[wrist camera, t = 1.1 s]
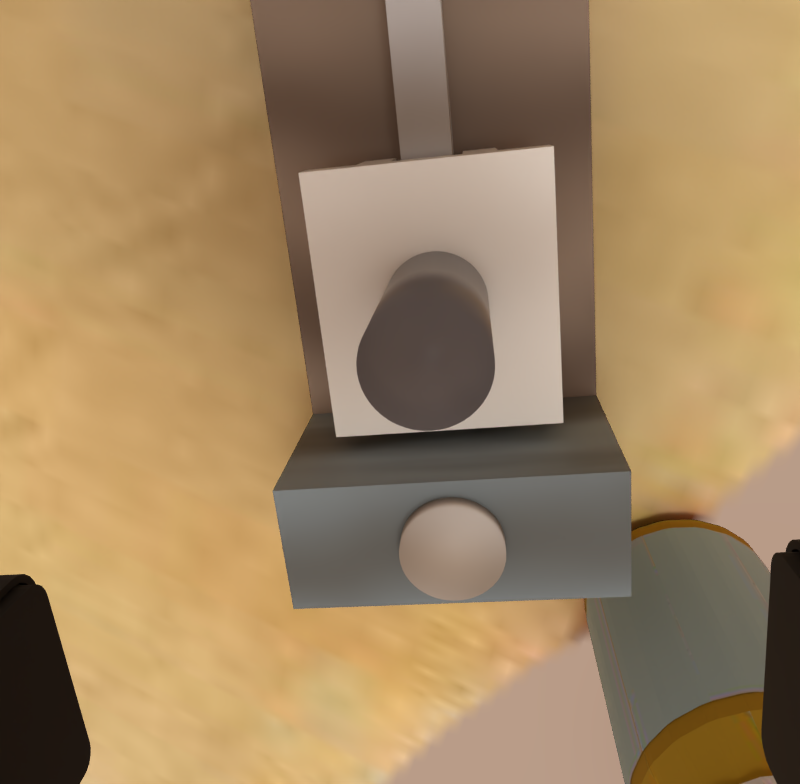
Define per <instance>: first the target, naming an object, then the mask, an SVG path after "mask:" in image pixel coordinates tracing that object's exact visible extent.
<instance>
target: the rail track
mask: <svg viewBox="0 0 800 784" xmlns="http://www.w3.org/2000/svg"><path fill="white" fill-rule="evenodd" d="M250 2H251V9H252V15H253V22H254V29H255V35H256V42H257V48H258V55H259V61H260V68H261V75H262V81H263V88H264V94H265V101H266V107H267V114H268V121H269V127H270V134H271V140H272V147H273V153H274V160H275V167H276V173H277V180H278V186H279V193H280V199H281V206H282V213H283V219H284V226H285V232H286V239H287V245H288V252H289V259H290V265H291V272H292V278H293V285H294V291H295V298H296V305H297V311H298V318H299V324H300V331H301V337H302V344H303V351H304V357H305V364H306V370H307V377H308V383H309V390H310V397H311V403H312V410H313V416H312V417H311V419H310V421H309V423H308V425H307V427H306V429H305V431H304V433H303V435H302V436H301V438H300V440H299V442H298V444H297V446H296V448H295V450H294V452H293V453H292V455H291V457H290V459H289V461H288V463H287V465H286V467H285V469H284V471H283V472H282V474H281V476H280V478H279V480H278V482H277V484H276V486H275V488H274V490H273V495H274V501H275V507H276V512H277V518H278V524H279V529H280V535H281V540H282V546H283V552H284V557H285V563H286V569H287V574H288V580H289V585H290V591H291V597H292V602H293V608H294V609H304V608H331V607H358V606H386V605H413V604H441V603H468V602H495V601H523V600H550V599H577V598H605V597H631V470H630V468H629V466H628V464H627V461H626V459H625V457H624V455H623V453H622V450H621V448H620V446H619V444H618V442H617V439H616V437H615V435H614V433H613V431H612V429H611V426H610V424H609V422H608V420H607V418H606V415H605V413H604V411H603V409H602V407H601V405H600V402H599V400H598V398H597V396H596V354H595V302H594V250H593V198H592V146H591V94H590V42H589V0H250ZM542 145H552V146H554V165H555V194H556V222H557V251H558V280H559V308H560V337H561V366H562V394H563V423H555V424H539V425H523V426H507V427H491V428H475V429H459V430H444V431H428V432H412V433H396V434H380V435H364V436H348V437H336V432H335V425H334V418H333V411H332V404H331V397H330V390H329V383H328V376H327V369H326V362H325V355H324V348H323V341H322V334H321V327H320V320H319V313H318V306H317V299H316V292H315V285H314V278H313V271H312V264H311V257H310V250H309V243H308V236H307V229H306V222H305V215H304V208H303V201H302V194H301V188H300V181H299V174H298V173H300V172H303V171H306V170H313V169H323V168H332V167H342V166H351V165H357V164H359V163H362V162H364V161H373V160H382V159H391V158H396V161H399V160H408V159H418V158H427V157H437V156H446V155H456V154H463V151H467V150H477V149H486V148H496V149H497V150H504V149H513V148H523V147H532V146H542Z"/></svg>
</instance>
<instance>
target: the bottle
mask: <svg viewBox="0 0 800 784" xmlns="http://www.w3.org/2000/svg"><path fill="white" fill-rule="evenodd" d="M770 574H771V573H770V572H769V570H768V569H767V567H766V566H765V565H764V563H763V562H762V561H761V560H760V558H759V557H758V556H757V554H756V553H755V552H754V551H753V549H752V548H751V547H750V546H749V544H748V543H746V542H745V541H744V540H743V539H742V538H740V537H738V536H737V535H735V534H734V533H732V532H730V531H729V530H727V529H725V528H723V527H720V526H718V525H714V524H710V523H706V522H702V521H698V520H666V521H660V522H657V523H653V524H650V525H647V526H643V527H640V528H638V529H635V530H633V531H631V597H605V598H585V611H586V616H587V623H588V628H589V632H590V636H591V641H592V645H593V649H594V653H595V657H596V662H597V666H598V671H599V675H600V679H601V683H602V688H603V692H604V696H605V700H606V705H607V709H608V713H609V718H610V722H611V726H612V731H613V735H614V739H615V743H616V748H617V752H618V756H619V760H620V765H621V769H622V773H623V778H624V782H625V784H777V783H776V781H775V779H774V777H773V775H772V773H771V770H770V768H769V766H768V763H767V761H766V758H765V754H764V750H763V745H762V737H761V728H762V711H763V694H764V677H765V659H766V642H767V625H768V608H769V591H770Z"/></svg>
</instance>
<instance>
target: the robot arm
mask: <svg viewBox="0 0 800 784" xmlns="http://www.w3.org/2000/svg"><path fill="white" fill-rule="evenodd" d="M761 737H762V745H763V750H764V754H765V758H766V761H767V763H768V766H769V768H770V770H771V773H772V775H773V777H774V779H775V781H776V783H777V784H800V540H792V541H790V542H789V544H788V546H787V548H786V552H781V553H775V554H774V555H773V558H772V562H771V574H770V591H769V608H768V625H767V642H766V659H765V677H764V694H763V711H762V728H761ZM90 750H91V748H90V742H89V738H88V735H87V731H86V728H85V724H84V721H83V717H82V714H81V710H80V707H79V703H78V700H77V696H76V693H75V689H74V686H73V683H72V679H71V676H70V672H69V669H68V665H67V662H66V658H65V655H64V651H63V648H62V644H61V641H60V637H59V634H58V630H57V627H56V623H55V620H54V616H53V613H52V609H51V606H50V603H49V599H48V596H47V593H46V591H45V589H44V588H43V587H42V586H40V585H36V584H35V582H34V580H33V579H32V578H31V577H30V576H27V575H25V574H19V575H0V784H80V782H81V780H82V779H83V777H84V775H85V773H86V771H87V768H88V765H89V761H90Z"/></svg>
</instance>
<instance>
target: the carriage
mask: <svg viewBox="0 0 800 784" xmlns="http://www.w3.org/2000/svg"><path fill="white" fill-rule="evenodd" d="M298 174H299V181H300V188H301V194H302V201H303V208H304V215H305V222H306V229H307V236H308V243H309V250H310V257H311V264H312V271H313V278H314V285H315V292H316V299H317V306H318V313H319V320H320V327H321V334H322V341H323V348H324V355H325V362H326V369H327V376H328V383H329V390H330V397H331V404H332V411H333V418H334V425H335V432H336V437H348V436H364V435H380V434H396V433H412V432H428V431H444V430H459V429H475V428H491V427H507V426H523V425H539V424H555V423H563V394H562V366H561V337H560V308H559V280H558V251H557V222H556V194H555V165H554V146H552V145H542V146H532V147H523V148H513V149H504V150H497V149H496V148H486V149H477V150H467V151H463V154H456V155H446V156H437V157H427V158H418V159H408V160H399V161H396V158H391V159H382V160H373V161H364V162H362V163H359V164H357V165H351V166H342V167H332V168H323V169H313V170H306V171H303V172H300V173H298Z"/></svg>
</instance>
